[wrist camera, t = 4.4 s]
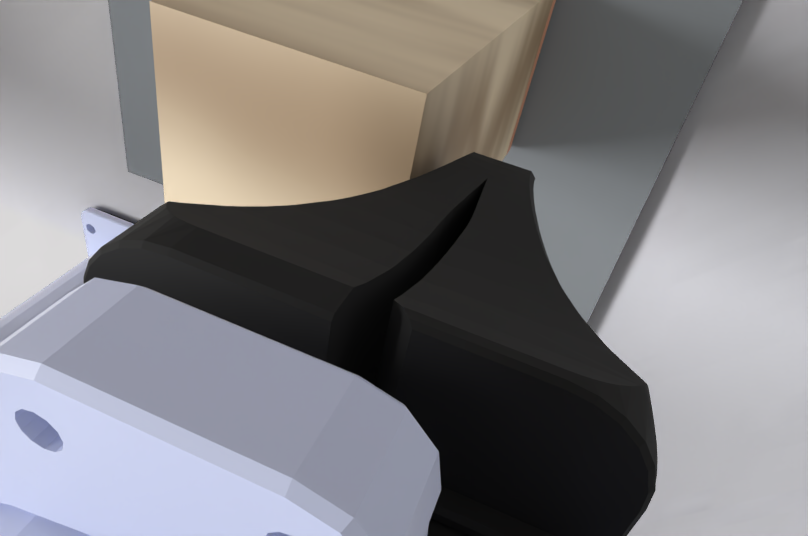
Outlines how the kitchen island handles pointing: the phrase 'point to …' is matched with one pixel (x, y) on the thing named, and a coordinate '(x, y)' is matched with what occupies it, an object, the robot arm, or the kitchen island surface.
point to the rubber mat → (542, 117)
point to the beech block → (334, 92)
